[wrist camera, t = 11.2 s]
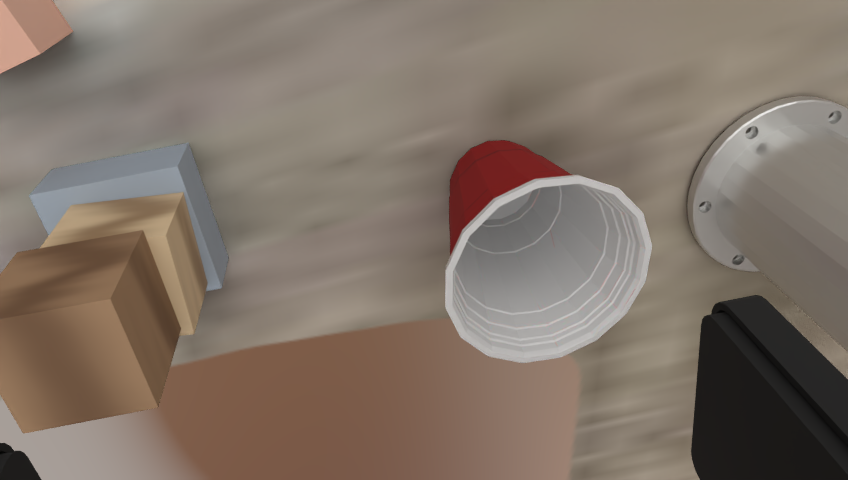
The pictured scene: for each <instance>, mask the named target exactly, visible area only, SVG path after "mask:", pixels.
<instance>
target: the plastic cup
mask: <svg viewBox="0 0 848 480" xmlns="http://www.w3.org/2000/svg"><path fill="white" fill-rule="evenodd" d="M449 225H450V258H449V260H448V263H447V265H446V290H445V308H446V310H447V312H448V314H449V316H450V318H451V320H452V322H453V324H454V325H455V327H456V329H457V331H458V333H459V335H460V337H461V338H462V339H464V340H465V341H467V342H468V343H470V344H471V345H472V346H474V347H475V348H477V349H478V350H480V351H481V352H483V353H484V354H485V355H487V356H489V357H494V358H499V359H504V360H509V361H515V362H520V363H526V362H533V361H540V360H547V359H553V358H560V357H562V356H565V355H567V354H569V353H571V352H573V351H575V350H577V349H579V348H581V347H583V346H586V345H588V344H590V343H592V342H594V341H596V340H597V339H598V338H600V337H601V336H602V335H603V334H604V333H605V332H606V331H607V330H609V329H610V328H611V327H612V326H613V325H614V324H615V323H616V322H618V321H619V320H620V319H621V318H622V317H623V316H624V315H625V314H626V313H627V312H628V310H629V308H630V307H631V305H632V303H633V302H634V300H635V298H636V297H637V295H638V293H639V292H640V290H641V288H642V287H643V285H644V283H645V282H646V277H647V271H648V266H649V260H650V255H651V249H652V243H651V240H650V236H649V233H648V229H647V225H646V222H645V218H644V214H643V212H642V211H641V210H640V209H639V208H638V207H637V206H636V205H635V204H634V203H633V202H632V201H631V200H630V199H629V198H628V197H627V196H626V195H625V194H624V193H623V192H622V191H621V190H620V189H619V188H617V187H614V186H611V185H608V184H604V183H601V182H598V181H595V180H592V179H589V178H585V177H582V176H579V175H571V174H570V173H568V172H566V171H565V170H563V169H562V168H560V167H558V166H557V165H555V164H554V163H552V162H550V161H549V160H547V159H546V158H544V157H542V156H540V155H537V154H535V153H533V152H532V151H530V150H529V149H528V148H526V147H524V146H521V145H518V144H516V143H513V142H510V141H505V140H500V141H487V142H484V143H482V144H480V145H478V146H476V147H473V148H471V149H470V150H469V151H468V152H467V153H466V154H465V155H464V156H463V157H462V158H461V159H460V160H459V161H458V163H457V165H456V168H455V170H454V172H453V174H452V177H451V179H450V197H449Z"/></svg>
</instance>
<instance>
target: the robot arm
mask: <svg viewBox="0 0 848 480" xmlns="http://www.w3.org/2000/svg"><path fill="white" fill-rule="evenodd" d="M687 212H688V222H689V225H690V228H691V231H692V233H693V236H694V237H695V239H696V240H697V242H698V243H699V245H700V246H701V247H702V248H703V249H704V250H705V251H706V252H707V253H708V254H709V255H710V257H712V258H713V259H715V260H716V261H718V262H719V263H720V264H722V265H724V266H727V267H729V268H731V269H735V270H741V271H747V272H760V271H761V272H762V273H763V274H764V275H765V276H766V277H767V278H768V279H769V280H771V281H772V282H773V283H774V284H775V285H776V286H777V287H778V288H779V289H780V290H781V291H782V292H783V293H785V294H786V295H787V296H788V297H789V298H790V299H791V300H792V301H793V302H794V303H795V304H796V305H797V306H799V307H800V308H801V309H802V310H803V311H804V312H805V313H806V314H807V315H808V316H809V317H810V318H811V319H813V320H814V321H815V322H816V323H817V324H818V325H819V326H820V327H821V328H822V329H823V330H824V331H825V332H827V333H828V334H829V335H830V336H831V337H832V338H833V339H834V340H835V341H836V342H837V343H838V344H840V345H841V346H842V347H843V348H844V349H845V350H846V351H847V352H848V109H847V108H846V107H844V106H842V105H840V104H837V103H835V102H833V101H831V100H827V99H823V98H819V97H815V96H795V97H790V98H784V99H779V100H776V101H774V102H771V103H768V104H765V105H763V106H760V107H758V108H757V109H755V110H753V111H751V112H749V113H748V114H746V115H744V116H743V117H741V118H740V119H739V120H737V121H736V122H735V123H734V124H732V125H731V126H730V127H728V128H727V129H726V130H725V131H724V132H723V133H722V134H721V135H720V136H719V137H718V138H717V139H716V140H715V142H714V143H713V144H712V145H711V147H710V148H709V150H708V151H707V152H706V154H705V155H704V156H703V158H702V160H701V162H700V164H699V166H698V168H697V170H696V172H695V174H694V176H693V179H692V183H691V186H690V189H689V194H688V203H687ZM691 454H692V460H693V464H694V467H695V470H696V472H697V475H698V476H699V478H700V480H848V379H847V378H846V377H845V376H844V375H843V374H842V373H840V372H839V371H838V370H837V369H836V368H835V367H834V366H833V365H832V364H831V363H830V362H829V361H828V360H827V359H826V358H825V357H824V356H823V355H822V354H821V353H820V352H819V351H818V350H817V349H816V348H815V347H814V346H813V345H812V344H811V343H810V342H809V341H808V340H807V339H806V338H805V337H804V336H803V335H802V334H801V333H800V332H799V331H798V330H797V329H796V328H795V327H794V326H793V325H792V324H791V323H789V322H788V321H787V320H786V319H785V318H784V317H783V316H782V315H781V314H780V313H779V312H778V311H777V310H776V309H775V308H774V307H773V306H772V305H771V304H770V303H769V302H768V301H767V300H766V299H764V298H763V297H762V296H758V295H754V296H749V297H744V298H738V299H733V300H728V301H723V302H719V303H716V304H715V305H714V307H713V309H712V314H711V315H707V316H704V318H703V319H702V324H701V335H700V347H699V360H698V373H697V385H696V398H695V410H694V423H693V436H692V448H691ZM0 480H41V479H40V477H39V475H38V473H37V472H36V470H35V468H34V467H33V465H32V463H31V462H30V460H29V458H28V457H27V456H26V455H25V453H23V452H21V451H14V450H13V449H12V448H11V446H9V445H7V444H5V443H0Z"/></svg>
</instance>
